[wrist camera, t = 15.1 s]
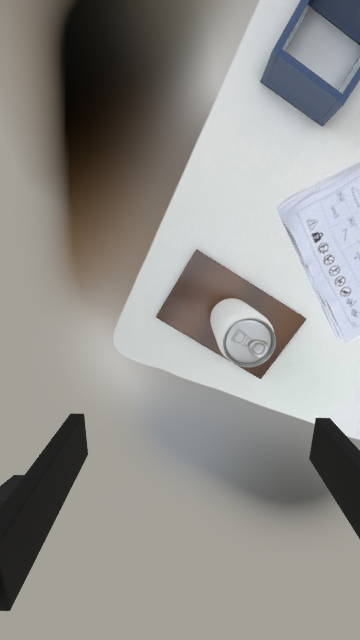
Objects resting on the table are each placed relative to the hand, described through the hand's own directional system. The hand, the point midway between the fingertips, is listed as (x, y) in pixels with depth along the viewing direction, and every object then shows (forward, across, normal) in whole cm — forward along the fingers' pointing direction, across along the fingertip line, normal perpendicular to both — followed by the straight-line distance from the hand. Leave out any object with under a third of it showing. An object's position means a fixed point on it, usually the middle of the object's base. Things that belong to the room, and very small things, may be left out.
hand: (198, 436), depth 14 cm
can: (+25, +6, +1) cm, 26 cm away
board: (+26, +6, +1) cm, 27 cm away
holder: (+26, +16, +34) cm, 46 cm away
